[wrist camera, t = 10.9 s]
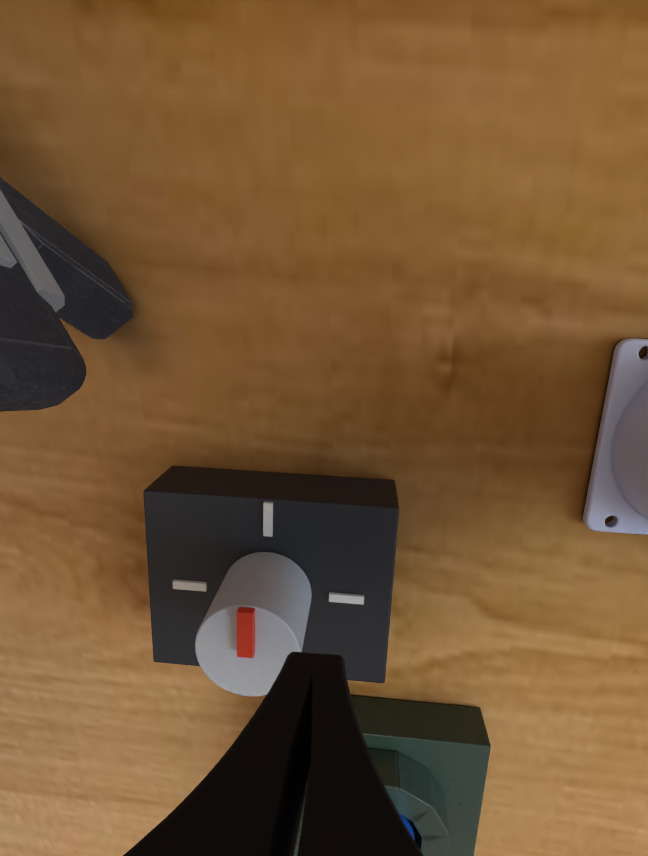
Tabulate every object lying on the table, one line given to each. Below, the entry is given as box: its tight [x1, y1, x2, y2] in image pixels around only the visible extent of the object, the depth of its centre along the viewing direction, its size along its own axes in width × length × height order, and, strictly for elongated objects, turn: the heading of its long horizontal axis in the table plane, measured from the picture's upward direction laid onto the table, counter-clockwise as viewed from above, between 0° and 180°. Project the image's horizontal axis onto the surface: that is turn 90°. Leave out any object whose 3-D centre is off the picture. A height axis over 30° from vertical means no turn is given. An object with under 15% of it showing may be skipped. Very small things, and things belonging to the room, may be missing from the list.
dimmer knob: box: [195, 552, 312, 696], centre depth 18 cm, size 4×4×4 cm
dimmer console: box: [144, 466, 399, 683], centre depth 22 cm, size 10×8×3 cm
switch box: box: [294, 695, 491, 856], centre depth 24 cm, size 10×8×4 cm
